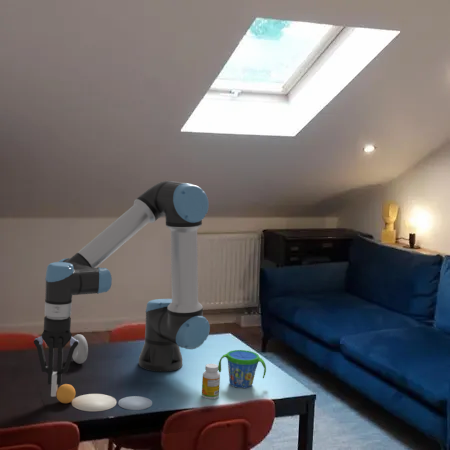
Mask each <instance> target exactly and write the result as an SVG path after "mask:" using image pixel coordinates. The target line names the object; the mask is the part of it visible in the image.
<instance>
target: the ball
mask: <svg viewBox="0 0 450 450" xmlns="http://www.w3.org/2000/svg"><path fill="white" fill-rule="evenodd" d="M76 395H77V394H76V389H75V387H74V386H73V385H72V384H68V383H64V384H62V385H61V384H60V385H59V387H57V393H56V398H57V400H58V401H59V402H60V403H62V404H69V403H72V400H73V399H74V398H76Z"/></svg>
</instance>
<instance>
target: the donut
mask: <svg viewBox="0 0 450 450" xmlns="http://www.w3.org/2000/svg"><path fill="white" fill-rule="evenodd" d="M72 337H73V338H74V339H78V340H79V343H78V345H77V346H76V348H75V349H74V352H73V355H72V359H73V361H74V362H75V363H76V364H80V365H81V364H83V363H85V362H86V360H87V358H88V355H89V347H88V346H89V345H88V341H87V339H86V337H85V336H84V335H83V334H81V333H80V334H78V333H77V334H75V335H74V336H72Z"/></svg>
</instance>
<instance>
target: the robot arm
mask: <svg viewBox="0 0 450 450" xmlns="http://www.w3.org/2000/svg"><path fill="white" fill-rule="evenodd" d="M209 204H210V203H209V198H208V195H207V194H206V191H204V189H202V188H201V187H200V186H198V185H195V184H193V183H190V182H189V183H187V182H180V181H175V180H163V181H160V182H157V183H156V184H154V185H153V186H152V187H150V188H148V189H147V190H146V191H144V192H143V193H142V194H140V195H139V196H138V197H136V199H134V201H133V205H132V206H131V207H129V209H127V210H126V211H125V212H123V214H121V215H120V216H119V217H118V218H117V219H115V221H113V222H112V223H110V224H109V225H108V226H107V227H106V228H105V229H103V230H102V231H101V232H100V233H99V234H98V235H96V236H95V237H94V238H93V239H92V240H91V241H89V242H88V243H86V245H85V246H83V247H82V248H81V249H80V250H78V251H77V252H76V253H75V254H74V255H72V257H70V258H69V257H68V258H67V257H66V258H62V259H60V260H58V261H54V262H50V263H49V264H48V265H47V267H46V270H45V279H44V280H45V296H44V297H45V298H44V318H43V332H42V333H41V335H40V336H38V337H35V338H34V340H33V344H34V345H35V347H36V349H37V354H38V359H39V365H40V368H41V372H42V373H47V385H51V388H50V389H51V390H50V397H54V398H55V397H56V398H57V396H56V393H57V390H58V386H61V384H62V382H63V381H62V379H63V378H62V377H63V374H64V373H65V374H66V373H68V371H69V369H70V364H71V363H72V362H71V361H72V359H73V357H72V355H73V352H74V349H75V348H76V346H77V345H78V343H79V340H78V339H74V338H73V337H74V336H73V333H72V331H71V328H72V327H71V323H72V318H71V316H72V305H73V304H72V303H73V296H78V295H93V294H94V295H95V294H103V293H107V292H109V290H111V287H112V280H113V278H112V274H111V271H110V270H109V269H108V268H107V267H99V266H101V264H102V263H103V262H104V261H106V260H107V259H108V258H110V257H111V256H112V255H113V254H114V253H115V252H116V251H118V249H120V248H121V247H122V246H123V245H124V244H125V243H127V242H128V241H129V240H130V239H132V238H133V237H134V236H135V235H137V234H138V232H139V231H141V230H142V229H143V228H144V227H146V225H147V224H149V223H150V224H153V223H155V222H156V221H157V220H158V219H160V218H162V217H165V226H166V228H168V230H169V231H170V258H171V259H170V261H171V262H170V263H171V264H170V265H171V267H170V269H171V270H170V271H171V272H170V273H171V276H170V277H171V298H158V299H151V300H149V301H148V302H147V303H146V307H145V326H144V328H145V331H144V344H143V347H142V349H141V351H140V354H139V357H138V366H139V367H140V368H142V369H144V370H147V371H151V372H172V371H177V370H179V369H180V368H182V366H183V356H182V352H181V349H180V348H182V349H185V350H195V349H197V348H200V347H201V346H202V345H203V344H204V343H205V341H207V339H208V337H209V334H210V332H211V331H210V330H211V325H210V323H209V321H208V319H207V318H206V317H205V316H204V311H203V309H204V308H203V306H204V305H202V303H201V302H199V280H198V279H199V278H198V277H199V269H198V268H199V267H198V265H199V264H198V259H199V257H198V256H199V255H198V231H199V229H200V228H201V227H202V226H203V225H202V224H203V222H202V221H203V220H204V218H205V217H206V215H207V214H208V213H209V212H208V211H209V206H210V205H209ZM44 343H45V345H46V346H47V347H48V360H46V356H45V350H44V345H43V344H44ZM68 343H69V345H70V348H69V351H68V355H67V357H66V362H65V364H64V366H63V361H64V348H65V347H66V346H67V344H68ZM55 349H57V360H56V361H57V366H56V371H54V370H55V368H54V364H55V362H54V361H55ZM47 361H48V364H47Z"/></svg>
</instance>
